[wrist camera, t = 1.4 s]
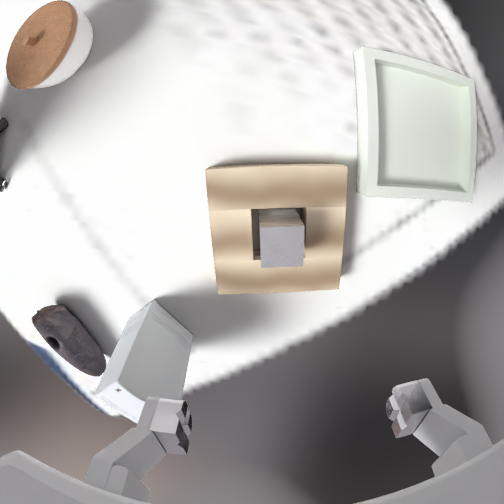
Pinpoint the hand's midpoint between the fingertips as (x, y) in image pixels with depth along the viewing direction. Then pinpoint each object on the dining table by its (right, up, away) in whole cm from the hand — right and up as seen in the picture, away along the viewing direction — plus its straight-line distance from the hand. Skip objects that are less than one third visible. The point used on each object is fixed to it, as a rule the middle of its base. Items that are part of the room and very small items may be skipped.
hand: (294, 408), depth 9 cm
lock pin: (+1, +9, +22) cm, 23 cm away
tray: (+18, +20, +16) cm, 31 cm away
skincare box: (-14, -5, +28) cm, 32 cm away
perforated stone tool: (-30, -7, +29) cm, 42 cm away
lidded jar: (-24, +31, +12) cm, 41 cm away
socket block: (+1, +9, +22) cm, 23 cm away
